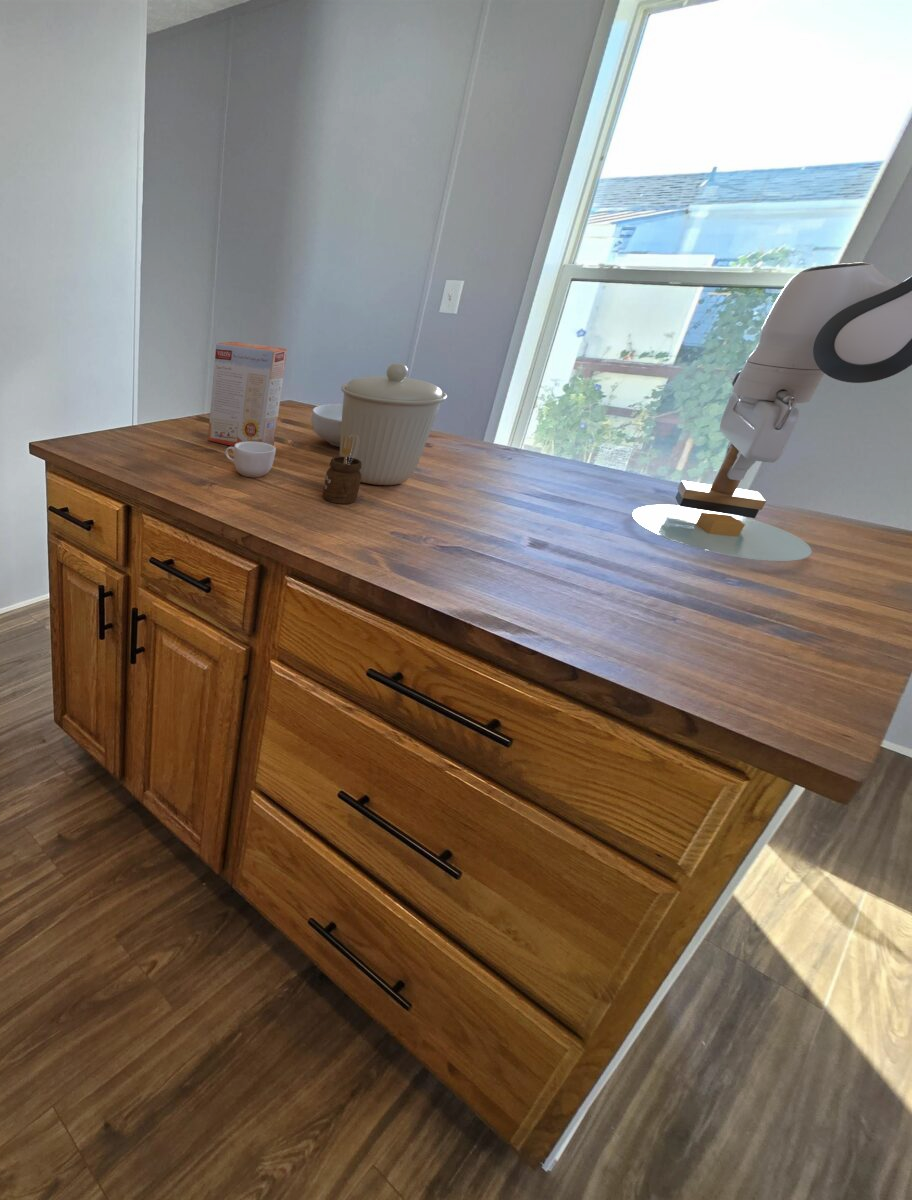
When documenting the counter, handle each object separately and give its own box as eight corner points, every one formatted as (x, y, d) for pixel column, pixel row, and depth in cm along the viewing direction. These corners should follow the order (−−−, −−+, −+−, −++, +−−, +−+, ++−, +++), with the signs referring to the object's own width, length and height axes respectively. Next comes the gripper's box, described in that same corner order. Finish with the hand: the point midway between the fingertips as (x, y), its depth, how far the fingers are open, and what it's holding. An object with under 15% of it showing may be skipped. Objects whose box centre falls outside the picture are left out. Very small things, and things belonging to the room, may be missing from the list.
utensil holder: (359, 496, 117) (373, 430, 112) (352, 507, 113) (367, 438, 107) (325, 490, 120) (337, 425, 114) (318, 501, 115) (330, 433, 109)
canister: (337, 457, 138) (357, 352, 127) (429, 472, 130) (458, 361, 120) (315, 482, 124) (335, 366, 114) (416, 500, 116) (448, 377, 106)
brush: (678, 506, 107) (706, 446, 102) (673, 497, 110) (700, 438, 106) (756, 519, 102) (790, 456, 97) (749, 509, 106) (781, 448, 101)
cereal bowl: (292, 442, 148) (297, 410, 144) (332, 429, 158) (338, 399, 154) (361, 459, 137) (368, 426, 133) (399, 445, 147) (407, 413, 143)
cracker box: (274, 448, 143) (289, 347, 133) (259, 454, 139) (273, 350, 129) (222, 436, 151) (231, 339, 141) (206, 441, 147) (215, 342, 137)
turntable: (783, 530, 107) (788, 521, 106) (828, 583, 90) (834, 574, 89) (622, 504, 116) (625, 496, 116) (635, 548, 100) (639, 539, 99)
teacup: (278, 473, 128) (282, 446, 126) (262, 483, 123) (265, 455, 120) (232, 463, 133) (235, 437, 131) (214, 472, 128) (217, 445, 125)
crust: (724, 526, 104) (730, 515, 103) (738, 536, 100) (745, 524, 99) (695, 523, 105) (701, 512, 104) (708, 533, 101) (714, 521, 100)
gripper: (826, 400, 88) (773, 498, 94) (784, 376, 103) (741, 461, 110) (766, 395, 90) (718, 490, 97) (733, 372, 106) (694, 455, 113)
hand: (730, 474), depth 104 cm, fingers closed on brush, 3 cm apart
